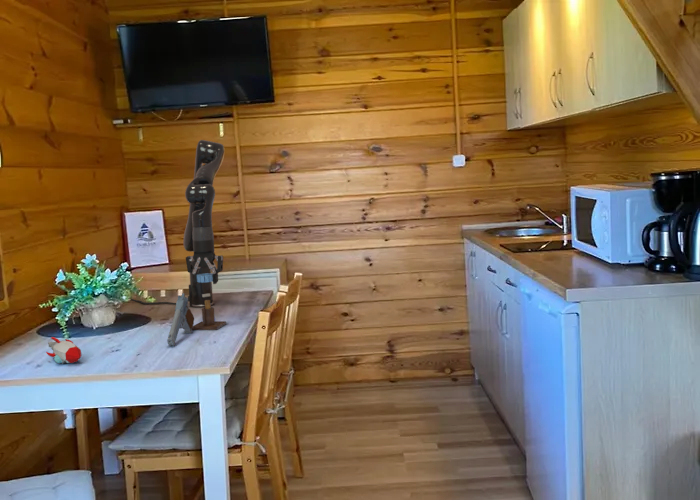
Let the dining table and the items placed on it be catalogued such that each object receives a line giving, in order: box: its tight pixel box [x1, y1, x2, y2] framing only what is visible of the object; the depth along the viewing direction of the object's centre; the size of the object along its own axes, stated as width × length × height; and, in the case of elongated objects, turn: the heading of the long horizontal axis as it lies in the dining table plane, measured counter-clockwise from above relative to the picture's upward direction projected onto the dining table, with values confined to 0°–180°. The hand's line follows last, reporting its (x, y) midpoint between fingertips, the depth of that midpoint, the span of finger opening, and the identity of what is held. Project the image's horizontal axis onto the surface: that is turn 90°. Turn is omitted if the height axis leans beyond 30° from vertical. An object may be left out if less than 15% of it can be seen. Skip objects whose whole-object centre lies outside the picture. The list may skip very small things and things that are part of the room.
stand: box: [192, 300, 228, 331], centre depth 248 cm, size 10×10×10 cm
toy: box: [45, 336, 82, 364], centre depth 207 cm, size 21×7×7 cm, turn 40°
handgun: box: [166, 293, 195, 347], centre depth 232 cm, size 4×25×15 cm
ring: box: [197, 272, 213, 283], centre depth 247 cm, size 6×6×2 cm
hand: (206, 283), depth 247 cm, fingers closed on ring, 6 cm apart
